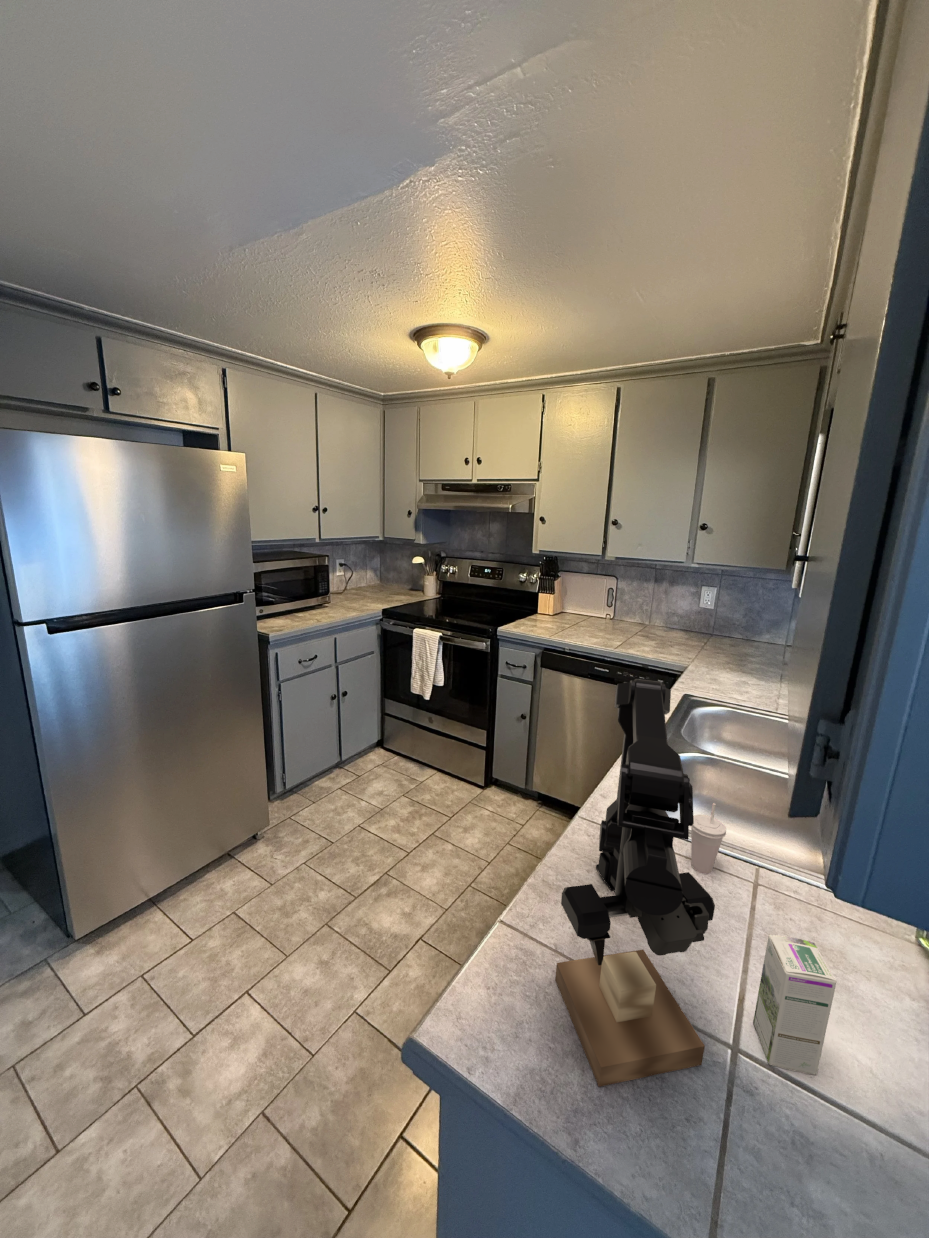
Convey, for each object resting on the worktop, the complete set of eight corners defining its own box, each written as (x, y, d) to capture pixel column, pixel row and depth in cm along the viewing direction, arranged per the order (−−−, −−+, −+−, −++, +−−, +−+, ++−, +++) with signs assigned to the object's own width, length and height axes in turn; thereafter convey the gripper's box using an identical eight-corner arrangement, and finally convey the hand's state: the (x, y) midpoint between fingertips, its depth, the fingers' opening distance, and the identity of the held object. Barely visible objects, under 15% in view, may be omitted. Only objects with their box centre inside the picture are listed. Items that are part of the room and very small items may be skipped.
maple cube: (631, 980, 69) (635, 951, 68) (651, 1015, 64) (656, 984, 63) (599, 986, 68) (602, 956, 67) (616, 1022, 63) (620, 990, 62)
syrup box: (818, 1077, 60) (841, 981, 57) (766, 1065, 61) (786, 970, 58) (797, 1031, 66) (817, 940, 63) (750, 1020, 67) (767, 931, 64)
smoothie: (725, 879, 93) (736, 814, 91) (692, 878, 94) (702, 813, 91) (709, 856, 100) (719, 795, 97) (678, 855, 100) (687, 793, 97)
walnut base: (641, 965, 75) (643, 949, 74) (701, 1064, 61) (704, 1045, 61) (555, 979, 72) (556, 962, 71) (598, 1086, 58) (601, 1067, 58)
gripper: (605, 913, 52) (592, 1031, 55) (756, 892, 55) (736, 1004, 58) (564, 844, 62) (555, 947, 65) (693, 831, 66) (678, 929, 69)
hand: (630, 957), depth 64 cm, fingers open, 9 cm apart
